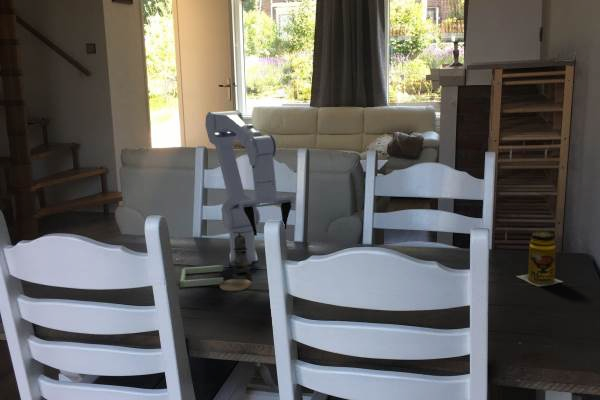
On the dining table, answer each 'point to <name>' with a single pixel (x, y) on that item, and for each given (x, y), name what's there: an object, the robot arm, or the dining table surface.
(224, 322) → the dining table surface
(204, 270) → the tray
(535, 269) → the condiment
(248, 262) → the salt shaker
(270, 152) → the robot arm
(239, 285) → the cork coaster
